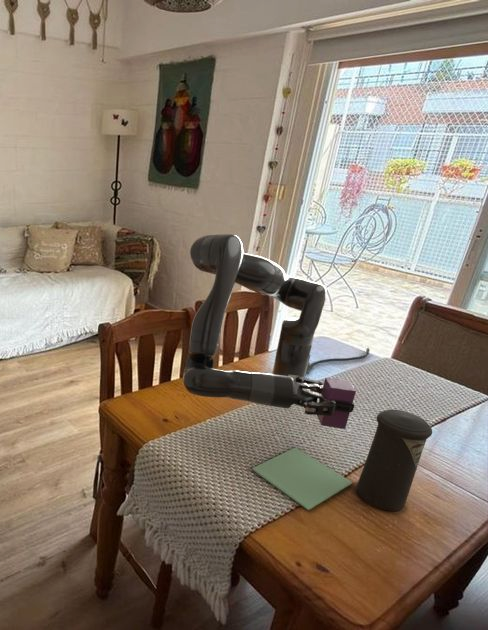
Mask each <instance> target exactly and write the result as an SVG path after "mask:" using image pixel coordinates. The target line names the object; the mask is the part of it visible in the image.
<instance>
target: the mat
mask: <svg viewBox="0 0 488 630" xmlns="http://www.w3.org/2000/svg"><path fill="white" fill-rule="evenodd" d="M251 471H252V472H254V473H255V474H257V475H258V476H260V478H261V479H264V480H265V481H266V482H268V483H269V484H271V485H272V486H273V487H275V488H276V489H277V490H279V491H280V492H281V493H283V494H284V495H286V496H287V497H289V498H290V499H291V500H292V501H294V502H296V503H297V504H298V505H300V506H301V507H302V508H304V509H305V510H306V511H310V510H311V509H313V508H315V507H317V506H318V505H320V504H321V503H323V502H325V501H327V500H328V499H330V498H332V497H333V496H335V495H337V494H338V493H340V492H342V491H343V490H345V489H347V488H348V487H350V486H351V485H353V482H352V481H351V480H349V479H348V478H346V477H345V476H343V475H341V474H340V473H338V472H336V471H335V470H333V469H332V468H329V467H328V466H326V465H325V464H323V463H322V462H320V461H318V460H317V459H316V458H314V457H313V456H311V455H309V454H307V453H306V452H304V451H302V450H301V449H299V448H298V447H293V448H291V449H289V450H287V451H285V452H283V453H281V454H279V455H276V456H274V457H272V458H270V459H268V460H266V461H264V462H262V463H260V464H258V465H256V466H253V467H252V468H251Z"/></svg>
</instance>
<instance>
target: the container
mask: <svg viewBox="0 0 488 630" xmlns="http://www.w3.org/2000/svg"><path fill="white" fill-rule="evenodd" d="M376 421H377V426H376V430H375V433H374V435H373V439H372V441H371V444H370V448H369V451H368V453H367V456H366V459H365V462H364V464H363V468H362V471H361V473H360V476H359V479H358V482H357V484H356V492H357V494H358V495H359V496H360V497H361V499H362V500H364V501H365V502H366V503H368V504H370V505H371V506H373V507H376V508H377V509H381V510H384V511H389V512H399V511H401V510H403V509H404V507H405V505H406V503H407V499H408V496H409V493H410V490H411V487H412V485H413V483H414V482H413V481H414V478H415V475H416V472H417V469H418V467H419V463H420V460H421V458H422V454H423V451H424V448H425V445H426V442H427V439H429V438H430V437H431V436H432V434H433V429H432V426H430V424H429V423H428V422H427V421H426V420H425V419H423V418H422V417H420V416H418V415H416V414H413V413H411V412H409V411H405V410H400V409H386V410H382V411H380V412H378V413H377V415H376Z"/></svg>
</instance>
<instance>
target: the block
mask: <svg viewBox="0 0 488 630" xmlns="http://www.w3.org/2000/svg"><path fill="white" fill-rule="evenodd" d="M356 393H357V390H356V389H355V387H354V385H353V384H352V382H351V381H350V380H347V379H340V378H332V377H325V378H324V382H323V389H322V393H321V394H322V395H324V396H325V397H326V398H328V399H332V400H339V401H345V402H352V403H353V404H354V400H355V397H356ZM323 403H328V402H323ZM323 410H324V409H323ZM324 411H327V410H324ZM350 413H351V412H344V411H337V410H334V411H333V414H332V415H316V417H317V419H318V422H319V425H320V426H323V427H329V428H336V429H342V430H346V428H347V425H348V420H349V417H350Z"/></svg>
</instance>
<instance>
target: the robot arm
mask: <svg viewBox="0 0 488 630" xmlns="http://www.w3.org/2000/svg"><path fill="white" fill-rule="evenodd" d="M189 257H190V260H191V263H192V265H194V267H195V268H196V269H198V270H199V271H201V272H202V273H203V272H204V273H207V274H212V275H215V278H214V281H213V285H212V288H211V289H210V291H209V293H208V295H207V297H206V298H205V300H204V301H203V302H202V304H201V306H200V307H199V308H198V310H197V311H196V313H195V315H194V317H193V320H192V323H191V326H190V327H191V328H190V334H189V340H188V353H187V356H186V360H185V365H184V369H183V375H182V383H183V386H184V388H185V390H186V391H187V392H188V393H190V394H192V395H193V396H196V397H197V396H198V397H205V398H227V399H231V400H235V401H242V402H243V401H244V402H248V403H249V402H250V403H253V404H257V405H262V406H269V407H273V408H282V409H290V408H291V407H292V406H293V405H296V406H299V407H302V408H304V414H306V415H309V416H317V415H332V414H333V411H334V410H337V411H344V412H350V413H352V412H354V409H355V404H354V402H353V403H352V402H345V401H339V400H332V399H328V398H326V397H325V396H324V395H322V394H321V393H322V389H323V385H324V382H323V381H320V380H316V379H312V378H311V379H310V378H307V374H309V373H310V371H311V369H312V368H313V367H314V366H316V365H318V364H321V363H328V362H345V361H353V360H354V361H355V360H361V359H365V358H367V357H368V356H369V354H370V351H371V350H370V348H369V347H366V349H365V353H364V354H363V355H360V356H353V357H338V358H337V357H336V358H326V359H319V360H316V361H313V362H310V359H311V351H312V347H313V342H314V338H315V335H316V330H317V328H318V326H319V324H320V321H321V318H322V315H323V310H324V307H325V304H326V301H327V287H326V286H325V285H324V284H322V283H318V282H315V281H311V280H308V279H304V278H299V277H295V276H290V275H288V274H286V272H285V270H284V269H283V268H282V267H281V266H280V265H279V264H277V263H276V262H274V261H272V260H270V259H268V258H266V257H263V256H260V255H254V254H249V253H245V252H244V247H243V242H242V241H241V239H240V237H239V236H237V235H235V234H231V233H226V234H225V233H224V234H222V233H221V234H208V235H204V236H201V237H199V238H197V239H196V240H194V242H193V243H192V245H191V247H190V249H189ZM235 284H237V285H239V286H241V287H244V288H246V289H247V290H250V291H252V292H254V293H257V294H259V295H262V296H266V297H272V298H274V299H276V301H279V302H280V303H282V304H283V305H284V306H286V307H288V308H290V309H293V310H297V311H299V312H300V314H299V317H288V318H285V319H284V320H283V321H282V323H281V327H280V332H279V333H280V334H279V338H278V343H277V347H276V352H275V358H274V363H273V368H272V373H265V372H252V371H243V370H242V371H241V370H237V369H230V370H229V369H228V370H221V369H215V368H214V365H215V358H216V355H217V353H218V350H219V345H220V340H221V339H220V338H221V333H222V329H223V328H222V327H223V322H224V317H225V315H226V311H227V307H228V304H229V301H230V299H231V295H232V294H233V290H234V287H235ZM323 402H328V403H323ZM323 409H324V410H327V411H324V410H323Z"/></svg>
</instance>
